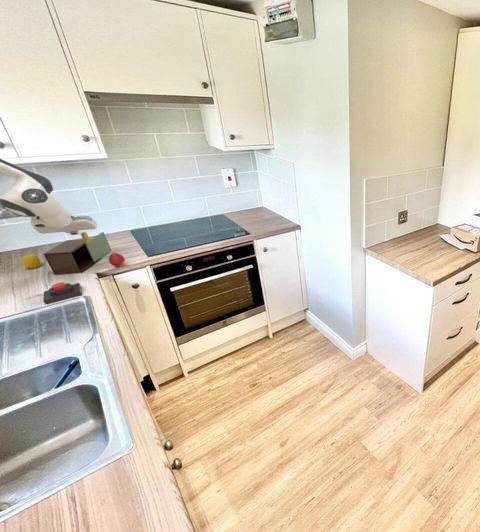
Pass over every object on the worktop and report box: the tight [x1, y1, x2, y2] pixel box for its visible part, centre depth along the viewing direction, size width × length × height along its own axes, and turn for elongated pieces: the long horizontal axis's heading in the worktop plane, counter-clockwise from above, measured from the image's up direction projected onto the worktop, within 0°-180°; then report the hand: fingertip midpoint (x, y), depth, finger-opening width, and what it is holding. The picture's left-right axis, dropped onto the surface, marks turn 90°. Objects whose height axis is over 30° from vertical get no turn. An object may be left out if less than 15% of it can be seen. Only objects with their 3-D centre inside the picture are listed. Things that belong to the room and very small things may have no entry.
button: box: [51, 281, 67, 291], centre depth 133 cm, size 4×4×2 cm
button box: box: [42, 282, 83, 306], centre depth 134 cm, size 11×9×4 cm
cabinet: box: [43, 238, 103, 276], centre depth 156 cm, size 16×11×11 cm
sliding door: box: [79, 231, 112, 262], centre depth 164 cm, size 15×1×15 cm, turn 13°
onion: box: [108, 251, 126, 267], centre depth 157 cm, size 6×6×8 cm
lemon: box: [21, 253, 42, 269], centre depth 153 cm, size 6×6×8 cm
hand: (75, 233), depth 152 cm, fingers closed
